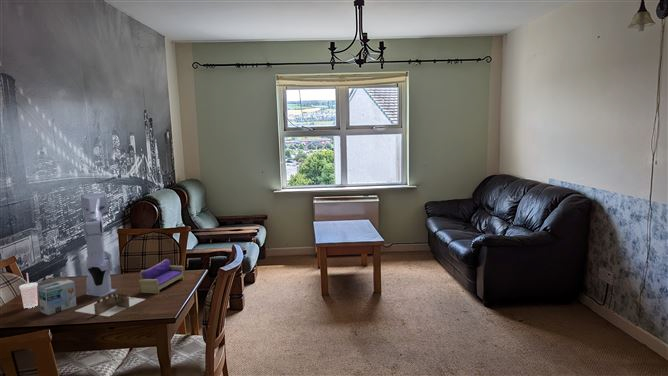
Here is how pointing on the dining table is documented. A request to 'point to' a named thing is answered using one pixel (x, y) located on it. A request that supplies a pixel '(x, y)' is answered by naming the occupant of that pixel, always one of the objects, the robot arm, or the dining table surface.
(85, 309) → the card
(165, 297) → the dining table surface
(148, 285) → the toy sofa
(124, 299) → the fixed fence rail
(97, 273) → the robot arm
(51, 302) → the light bulb box
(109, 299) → the fence flap
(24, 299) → the beverage cup
